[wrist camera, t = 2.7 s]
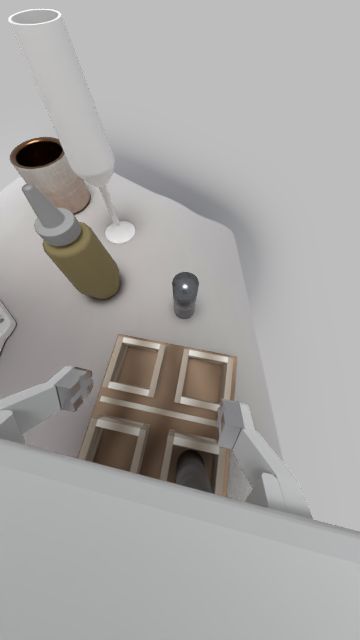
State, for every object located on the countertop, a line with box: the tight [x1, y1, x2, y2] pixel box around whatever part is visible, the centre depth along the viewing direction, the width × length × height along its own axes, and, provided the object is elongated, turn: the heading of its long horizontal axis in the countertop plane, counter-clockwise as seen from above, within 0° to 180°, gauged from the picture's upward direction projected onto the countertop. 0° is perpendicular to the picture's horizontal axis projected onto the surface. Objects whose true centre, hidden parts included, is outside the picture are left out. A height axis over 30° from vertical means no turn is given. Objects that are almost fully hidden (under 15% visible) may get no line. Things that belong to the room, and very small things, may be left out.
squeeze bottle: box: [22, 184, 119, 299], centre depth 25 cm, size 8×8×18 cm
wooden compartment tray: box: [78, 334, 237, 497], centre depth 21 cm, size 20×20×10 cm
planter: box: [10, 137, 90, 214], centre depth 37 cm, size 11×11×10 cm
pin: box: [172, 272, 199, 319], centre depth 27 cm, size 4×4×9 cm
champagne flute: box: [8, 9, 135, 243], centre depth 27 cm, size 7×7×24 cm
